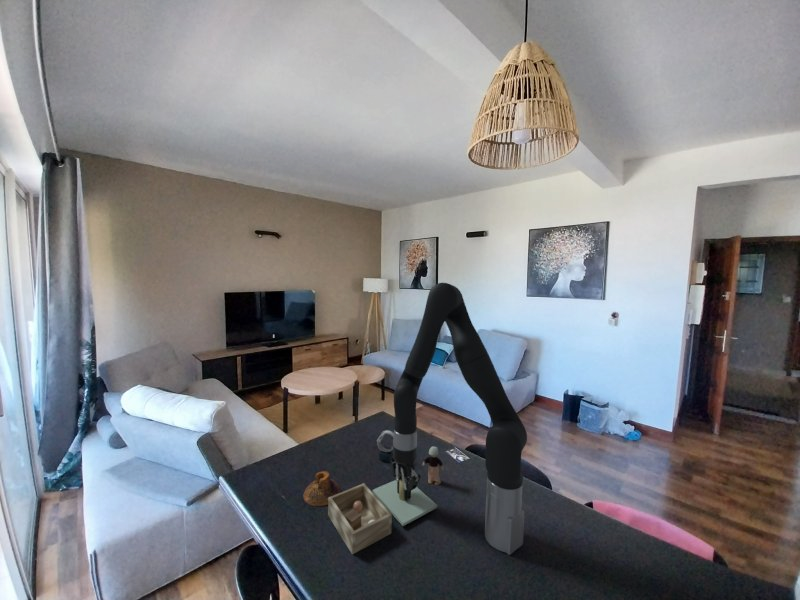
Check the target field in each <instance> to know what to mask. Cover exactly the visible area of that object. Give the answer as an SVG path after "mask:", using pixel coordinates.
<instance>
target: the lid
mask: <svg viewBox="0 0 800 600" xmlns="http://www.w3.org/2000/svg"><path fill="white" fill-rule="evenodd" d="M407 484H409V481H408V482H407ZM372 493H373V494H374V495H375V496H376V497H377V499H378V500H379V501H380V502H381V503H382V504H383V505H384V507H385V508H386V509H387V510H388V511H389V512H390V513H391V514H392V516H393V517H394V518H395V519H396V521H397V522H398V524H399V523H400V525H401V526H402V527H404V526H406V525H407V524H410V523H412V522H413V521H415V520H417V519H419V518H421V517H422V516H425V515H426V514H428V513H430V512H432V511H434V510H436V509H437V508H438V504H437V503H435V502H434V501H433V500H432V499H431V498H430V497H429V496H427V495H426V494H425V493H424V492H423V491H422V490H421V489H419V487H418V486H417V487H416V488H415V489H413V490H411V498H410V499H408V500H406V501H405V500H404V482H403V481H402V478H401V479H400V480H399V494H398V493H397V481H396V479H395V480H392V481H390V482H388V483H386V484H383V485H380V486H379V487H376V488H374V489H372Z"/></svg>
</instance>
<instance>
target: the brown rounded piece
mask: <svg viewBox="0 0 800 600" xmlns="http://www.w3.org/2000/svg"><path fill="white" fill-rule="evenodd" d="M314 478H315V479H314V480H313V481H312V482H310V483H309V484H308V485H307V487H306V488H305V490H304V492H303V495H302V498H303V500H304V503H306V504H307V505H309V506H311V507H324V506H328V498H329V497H331V496H334V495H336V494H338V493H341V492H342V490H341V487H340V484H338V482H336V481H335V480H334V479H332V478H331V477H330V473H329V472H328V471H319V472H317V473H316V474H315V476H314Z"/></svg>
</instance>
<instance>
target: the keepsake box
mask: <svg viewBox="0 0 800 600" xmlns="http://www.w3.org/2000/svg"><path fill="white" fill-rule="evenodd" d="M355 501H361V503H362V505H363V507H362V510H361V511H360V512H358V513H360V514H361V527H360V528H358V529H357V530H355V531H354V530H353V529H352V527H351V526H350V524H349V523H348V521H347V520H346V518H345V517H344V515H345V514H346V513H348V512H349V511H351V510H352V509H353V504H354V502H355ZM327 516H328V517H329V519H330V521H331V523H332V524H333V525H334V527H335V528H336V531H337V532H338V534H339V536H340V537H341V539H342V540H343V542H344V543H345V546H347V548H348V550H349V552H350V553H351V555H354V554H356V553H358V552H360V551H361V550H363V549H365V548H367V547H369V546H371V545H373V544H374V543H377V542H378V541H380V540H382V539H384V538H385V537H387V536H389V535H391V534H392V524H393V523H392V519H393V517H392V516H393V515H392V514H391V512H390V511H389V510H388V509H387V508H386V507H385V506H384V505H383V503H382V502H381V501H380V500H379V499H378V498H377V497H376V495H375V494H374V493H373V491H372V490H371V489H370V488H369V487H368V486H367V485H366V484H365V482H363V483H361V484H358V485H356V486H353V487H350V488H349V489H346V490H344V491H341V493H338V494H336V495H334V496H331V497H329V498H328V505H327ZM370 520H375V521H373V522H371V523H369V524H368V522H369V521H370Z"/></svg>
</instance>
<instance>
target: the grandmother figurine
mask: <svg viewBox="0 0 800 600" xmlns="http://www.w3.org/2000/svg"><path fill="white" fill-rule="evenodd" d="M428 454H429V455H430V456H427V457H426V458H424V460H423V462H422V465H421V466H423V467H425V466H426V465H427V464H428V466H427V467H428V472H427V473H428V475H427V477H428V480H427V482H428V484H430V485H433V484H434V486H435V485H436V486H439V485H440V484H441V483H442V482H441V479H440V470H441V471H442V472H443V471H445V467H444V464H443V462H442V460H441V459H440V458H439V457H438V455H439V449H438V447H437V446H431V447H430V448H429V450H428Z"/></svg>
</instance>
